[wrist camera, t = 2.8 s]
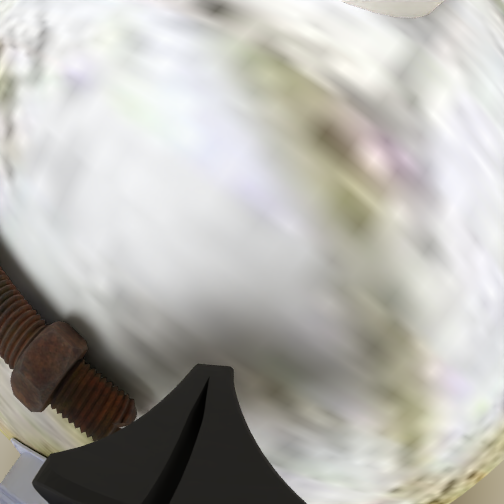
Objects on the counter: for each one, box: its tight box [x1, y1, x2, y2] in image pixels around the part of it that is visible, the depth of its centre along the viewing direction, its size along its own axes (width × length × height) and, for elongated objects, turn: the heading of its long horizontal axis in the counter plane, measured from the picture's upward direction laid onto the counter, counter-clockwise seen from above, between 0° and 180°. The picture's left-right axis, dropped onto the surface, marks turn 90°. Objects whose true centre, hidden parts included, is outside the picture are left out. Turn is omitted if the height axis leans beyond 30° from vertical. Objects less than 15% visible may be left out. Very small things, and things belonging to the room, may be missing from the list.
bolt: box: [0, 266, 137, 441], centre depth 9 cm, size 6×5×15 cm
